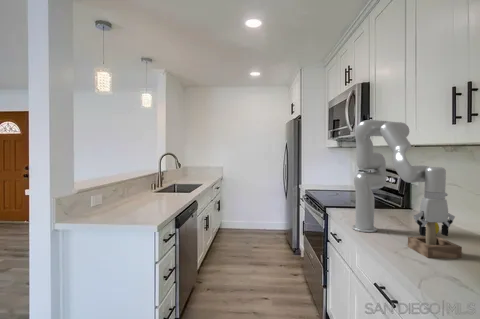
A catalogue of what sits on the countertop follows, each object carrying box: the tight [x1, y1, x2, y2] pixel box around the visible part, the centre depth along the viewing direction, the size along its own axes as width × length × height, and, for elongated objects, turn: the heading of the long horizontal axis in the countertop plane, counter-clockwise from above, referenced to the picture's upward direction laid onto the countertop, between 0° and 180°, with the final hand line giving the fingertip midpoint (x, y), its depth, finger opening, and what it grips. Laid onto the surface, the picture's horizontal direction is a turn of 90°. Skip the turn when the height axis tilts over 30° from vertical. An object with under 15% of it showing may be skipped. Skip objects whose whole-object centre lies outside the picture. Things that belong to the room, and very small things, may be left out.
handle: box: [425, 222, 437, 245], centre depth 129 cm, size 5×6×15 cm
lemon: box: [435, 223, 440, 235], centre depth 153 cm, size 6×6×8 cm
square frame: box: [407, 236, 463, 259], centre depth 128 cm, size 14×14×4 cm
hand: (433, 235), depth 128 cm, fingers open, 9 cm apart
